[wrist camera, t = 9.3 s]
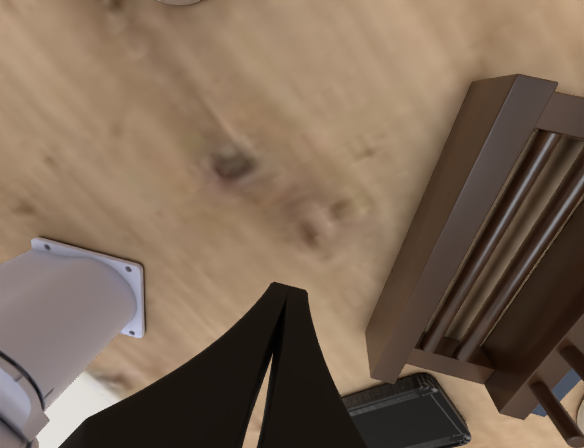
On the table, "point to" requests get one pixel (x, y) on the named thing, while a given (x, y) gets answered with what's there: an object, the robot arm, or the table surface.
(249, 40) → the table surface
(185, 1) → the coffee cup
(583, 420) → the tape roll
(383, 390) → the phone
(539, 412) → the rail
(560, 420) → the rack
